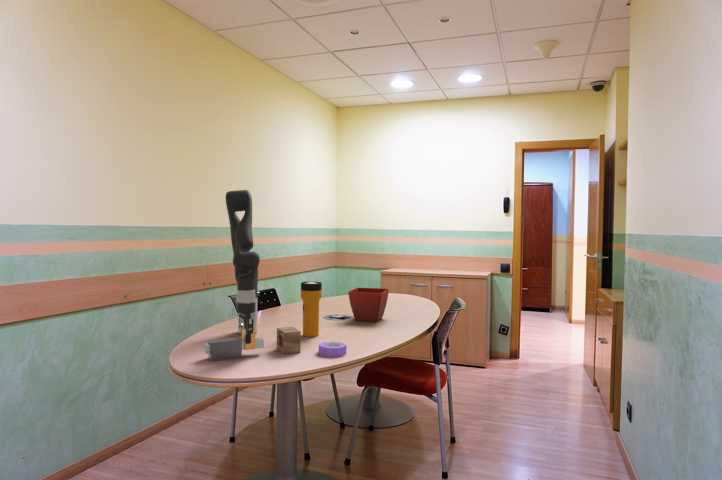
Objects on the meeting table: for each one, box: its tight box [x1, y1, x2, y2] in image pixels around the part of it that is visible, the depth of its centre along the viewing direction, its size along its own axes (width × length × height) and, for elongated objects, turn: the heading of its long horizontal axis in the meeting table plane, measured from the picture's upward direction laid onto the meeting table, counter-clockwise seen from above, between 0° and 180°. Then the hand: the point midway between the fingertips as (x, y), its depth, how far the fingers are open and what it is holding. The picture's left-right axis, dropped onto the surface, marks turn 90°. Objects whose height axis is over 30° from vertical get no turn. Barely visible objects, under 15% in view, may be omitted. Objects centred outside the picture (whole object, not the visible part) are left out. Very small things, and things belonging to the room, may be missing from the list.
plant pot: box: [348, 287, 390, 323], centre depth 282 cm, size 19×19×17 cm
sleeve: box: [207, 336, 243, 362], centre depth 198 cm, size 5×12×7 cm, turn 118°
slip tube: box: [203, 327, 265, 355], centre depth 200 cm, size 6×23×8 cm, turn 118°
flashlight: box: [300, 281, 323, 338], centre depth 240 cm, size 10×26×10 cm
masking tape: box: [318, 340, 348, 358], centre depth 208 cm, size 12×12×4 cm
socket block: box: [276, 326, 302, 355], centre depth 210 cm, size 10×7×9 cm
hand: (245, 341), depth 202 cm, fingers closed on slip tube, 6 cm apart
